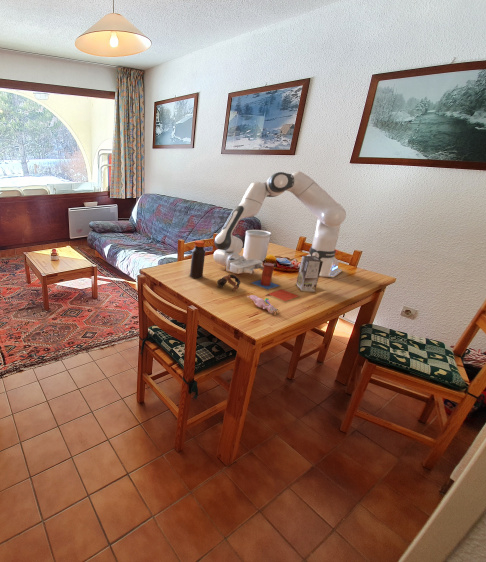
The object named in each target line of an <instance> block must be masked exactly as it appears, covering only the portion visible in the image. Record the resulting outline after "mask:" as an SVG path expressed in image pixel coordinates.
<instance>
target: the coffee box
mask: <svg viewBox="0 0 486 562" xmlns="http://www.w3.org/2000/svg"><path fill="white" fill-rule="evenodd" d="M322 263H323V261H321V260H320V259H319V258H317V257H316V256H307V255H302V256H301V261H300V265H299V270H298V274H297V279H296V283H295V284H296V285H297V287H298V288H299V289H300V291H303V292H316V288H317V285H318V282H319V277H320V276H319V274H320V271H321V267H322Z"/></svg>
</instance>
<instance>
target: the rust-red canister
mask: <svg viewBox="0 0 486 562" xmlns="http://www.w3.org/2000/svg"><path fill="white" fill-rule="evenodd" d="M263 266H264V267H263V270H262V273H261V277H260V280H261V282H260V284H261V285H264V286H270V284H271V282H272V278H273V274H274V269H275V264H274V263H271V262H263Z"/></svg>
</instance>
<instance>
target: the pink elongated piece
mask: <svg viewBox="0 0 486 562" xmlns="http://www.w3.org/2000/svg"><path fill="white" fill-rule="evenodd" d="M247 298H249V299H251V301H253V303H254V304H255V305H256V307H258V308H262V309H263V310H267V312H268V313H269V314H273V315H274V316H275V315H276V314H280V311H281V310H279V309H278V308H276V307H275V306H274V305H273V304H271V302H270V299H269V298H268V297H266V298H265V299H263V298H261V297H259V296H257V295H255V294H252V295H249V296H248V295H247Z"/></svg>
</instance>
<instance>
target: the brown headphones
mask: <svg viewBox="0 0 486 562" xmlns="http://www.w3.org/2000/svg"><path fill="white" fill-rule="evenodd" d="M233 279H234V280H233ZM227 283H228V284H230V285H231V286H232V287H233V288H232V291H233V292H236V291H237V290H239V288H240V285H241V280H240V279H239V278H238V277H237V276H236V275H234V273H233V274H232V273H229V274H227V275H224V276H223V277H221V278H219V279H218V280H217V286H218V287H217V288H220V289H223V288H224V286H225V285H226V284H227Z"/></svg>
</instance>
